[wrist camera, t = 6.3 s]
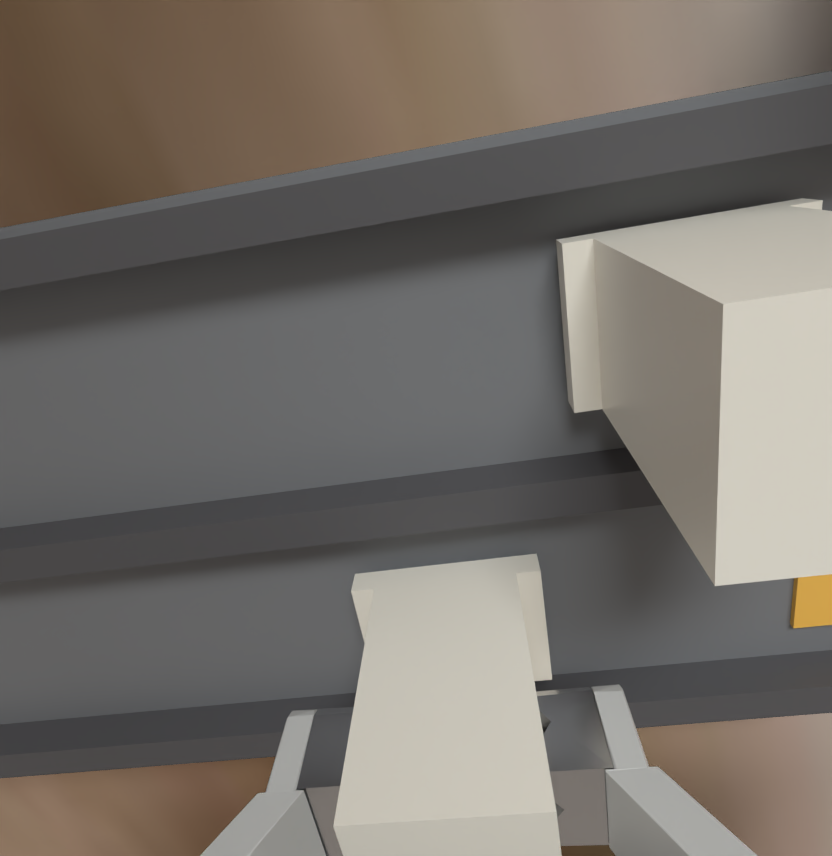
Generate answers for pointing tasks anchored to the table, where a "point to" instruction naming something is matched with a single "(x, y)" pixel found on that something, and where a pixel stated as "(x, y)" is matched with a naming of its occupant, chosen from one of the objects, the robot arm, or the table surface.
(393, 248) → the switch board
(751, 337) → the tab
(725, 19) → the table surface
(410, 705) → the tab
